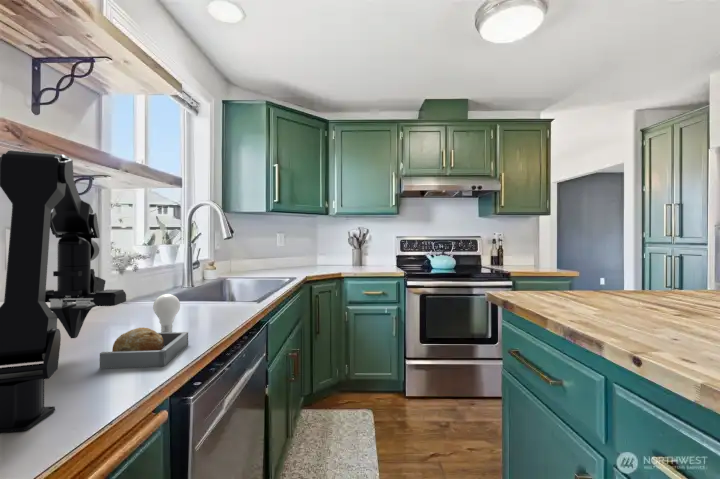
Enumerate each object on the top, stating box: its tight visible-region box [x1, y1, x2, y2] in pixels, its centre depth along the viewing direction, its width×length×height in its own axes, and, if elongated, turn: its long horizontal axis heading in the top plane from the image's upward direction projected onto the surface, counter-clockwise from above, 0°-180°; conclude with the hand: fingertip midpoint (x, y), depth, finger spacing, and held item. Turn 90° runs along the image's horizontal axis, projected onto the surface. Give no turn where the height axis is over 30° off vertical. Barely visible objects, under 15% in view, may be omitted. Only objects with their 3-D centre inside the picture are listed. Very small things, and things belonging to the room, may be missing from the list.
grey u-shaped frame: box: [99, 331, 189, 369], centre depth 85 cm, size 16×12×3 cm
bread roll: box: [111, 327, 165, 352], centre depth 84 cm, size 10×10×8 cm
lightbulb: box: [152, 293, 181, 333], centre depth 101 cm, size 6×6×11 cm
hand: (74, 337), depth 83 cm, fingers closed
